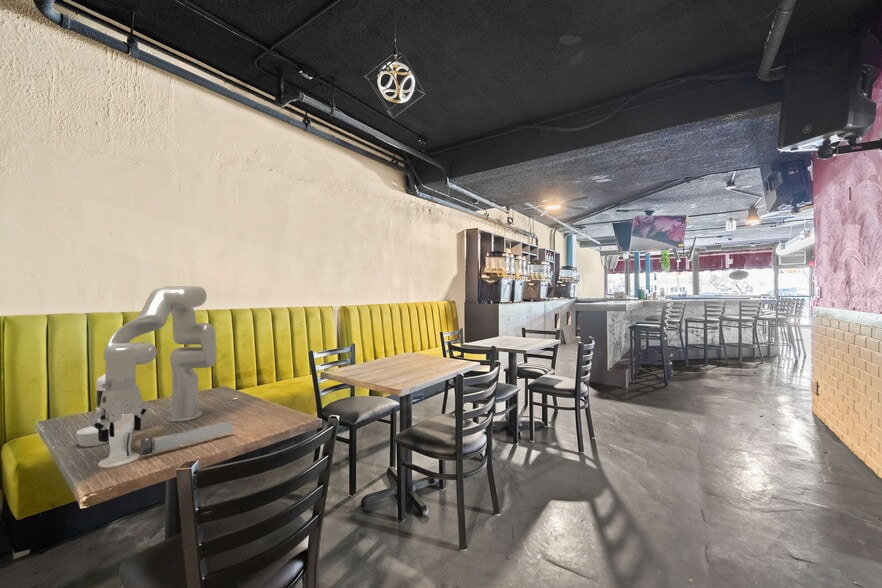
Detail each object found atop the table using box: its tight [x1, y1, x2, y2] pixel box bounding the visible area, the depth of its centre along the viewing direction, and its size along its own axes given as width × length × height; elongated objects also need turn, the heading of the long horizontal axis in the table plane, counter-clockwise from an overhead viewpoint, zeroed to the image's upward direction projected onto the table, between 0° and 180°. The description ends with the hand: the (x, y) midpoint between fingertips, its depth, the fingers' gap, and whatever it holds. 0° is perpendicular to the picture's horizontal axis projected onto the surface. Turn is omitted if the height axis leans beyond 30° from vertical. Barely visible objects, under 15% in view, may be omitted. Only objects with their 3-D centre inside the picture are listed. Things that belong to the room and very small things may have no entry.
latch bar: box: [140, 420, 233, 456], centre depth 131 cm, size 3×28×5 cm, turn 140°
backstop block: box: [131, 425, 165, 450], centre depth 133 cm, size 3×9×5 cm, turn 167°
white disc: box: [97, 452, 140, 469], centre depth 119 cm, size 10×10×1 cm
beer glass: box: [107, 412, 135, 462], centre depth 119 cm, size 7×7×15 cm
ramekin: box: [75, 425, 109, 448], centre depth 134 cm, size 11×11×5 cm
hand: (120, 435), depth 119 cm, fingers open, 9 cm apart
